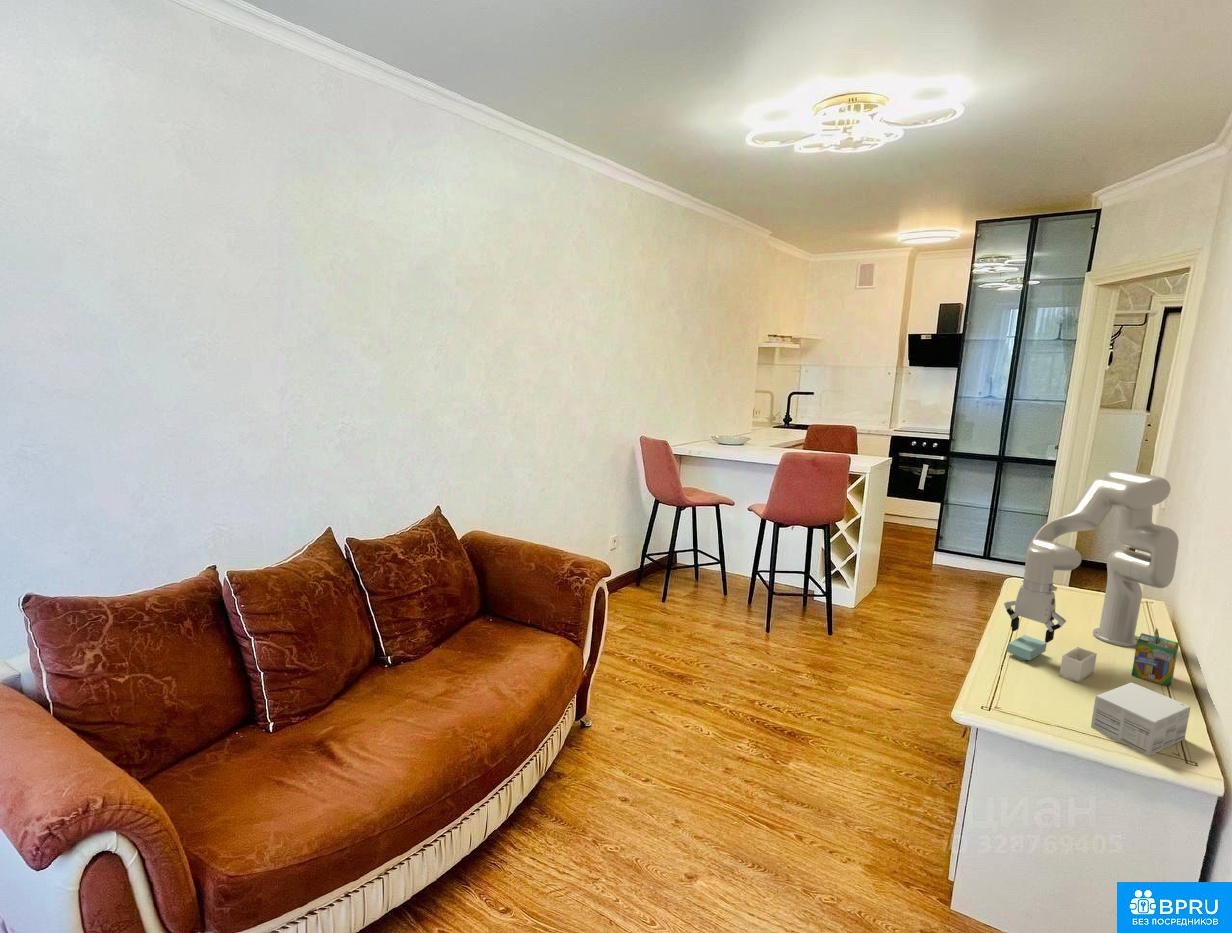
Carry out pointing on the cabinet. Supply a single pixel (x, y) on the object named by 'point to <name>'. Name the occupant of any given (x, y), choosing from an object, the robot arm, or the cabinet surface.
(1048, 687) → the cabinet surface
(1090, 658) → the box
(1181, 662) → the cabinet surface
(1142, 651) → the chalk box
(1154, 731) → the supplement box
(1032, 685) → the cabinet surface
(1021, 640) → the lid
